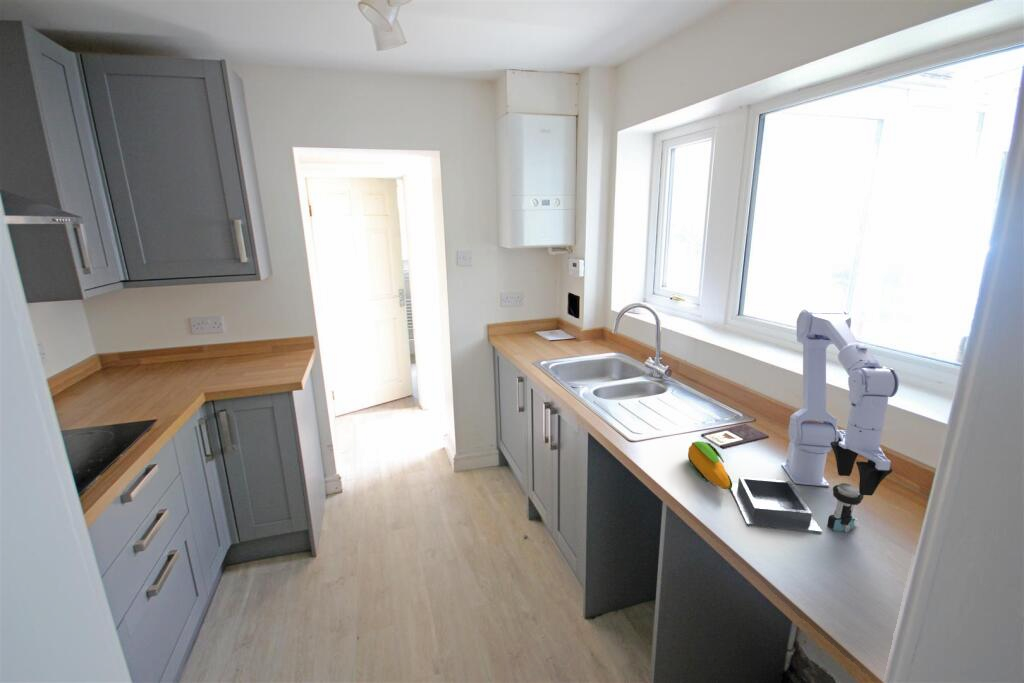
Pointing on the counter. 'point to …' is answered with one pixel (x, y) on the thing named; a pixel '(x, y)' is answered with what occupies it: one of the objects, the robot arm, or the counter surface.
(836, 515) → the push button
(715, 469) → the corn
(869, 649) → the counter surface
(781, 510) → the grey metal tray
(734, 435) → the chocolate bar
